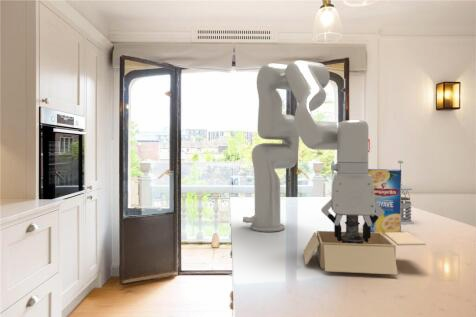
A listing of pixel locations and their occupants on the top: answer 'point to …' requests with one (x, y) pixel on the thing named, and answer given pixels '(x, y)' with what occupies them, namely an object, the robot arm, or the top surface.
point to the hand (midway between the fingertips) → (352, 239)
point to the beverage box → (387, 199)
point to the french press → (405, 204)
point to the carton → (353, 254)
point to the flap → (404, 238)
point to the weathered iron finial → (352, 231)
